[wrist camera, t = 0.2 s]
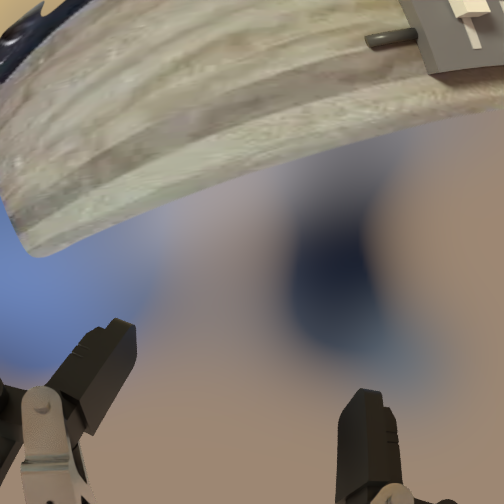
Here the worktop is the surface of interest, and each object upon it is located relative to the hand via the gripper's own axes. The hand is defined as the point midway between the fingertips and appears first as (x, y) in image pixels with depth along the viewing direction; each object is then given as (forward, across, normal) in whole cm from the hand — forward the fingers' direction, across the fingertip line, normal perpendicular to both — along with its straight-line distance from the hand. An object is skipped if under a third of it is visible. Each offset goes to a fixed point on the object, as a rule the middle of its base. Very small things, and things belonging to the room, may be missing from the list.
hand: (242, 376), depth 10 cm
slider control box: (+29, -17, -26) cm, 43 cm away
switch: (+25, -13, -26) cm, 38 cm away
